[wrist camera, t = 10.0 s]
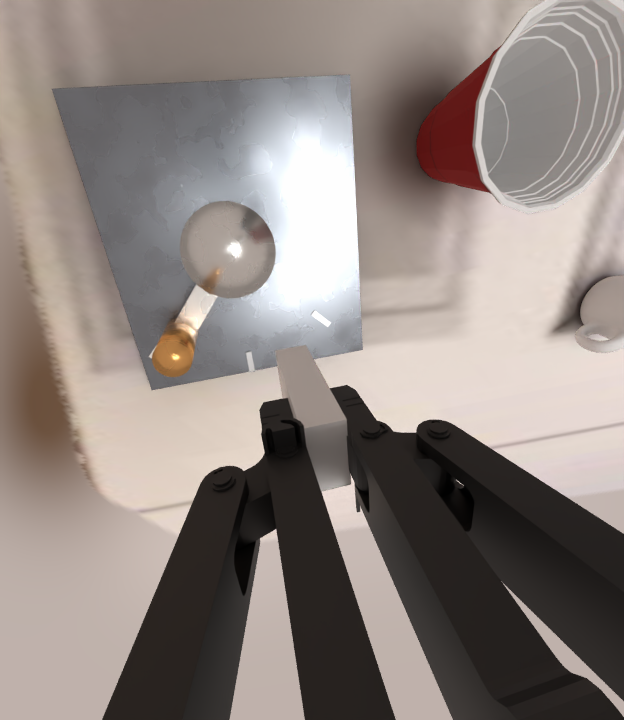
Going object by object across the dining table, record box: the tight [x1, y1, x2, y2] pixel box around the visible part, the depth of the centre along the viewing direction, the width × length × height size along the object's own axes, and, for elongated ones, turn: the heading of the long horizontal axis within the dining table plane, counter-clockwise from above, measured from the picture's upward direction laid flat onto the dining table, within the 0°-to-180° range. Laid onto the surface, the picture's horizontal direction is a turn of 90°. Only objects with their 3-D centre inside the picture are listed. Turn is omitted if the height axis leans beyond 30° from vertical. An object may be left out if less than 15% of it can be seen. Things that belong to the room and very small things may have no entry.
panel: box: [52, 75, 363, 390], centre depth 29 cm, size 22×20×2 cm
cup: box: [575, 276, 624, 353], centre depth 38 cm, size 11×8×8 cm
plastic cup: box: [417, 0, 624, 214], centre depth 25 cm, size 11×11×12 cm
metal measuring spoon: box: [152, 201, 276, 377], centre depth 26 cm, size 13×7×6 cm, turn 146°
